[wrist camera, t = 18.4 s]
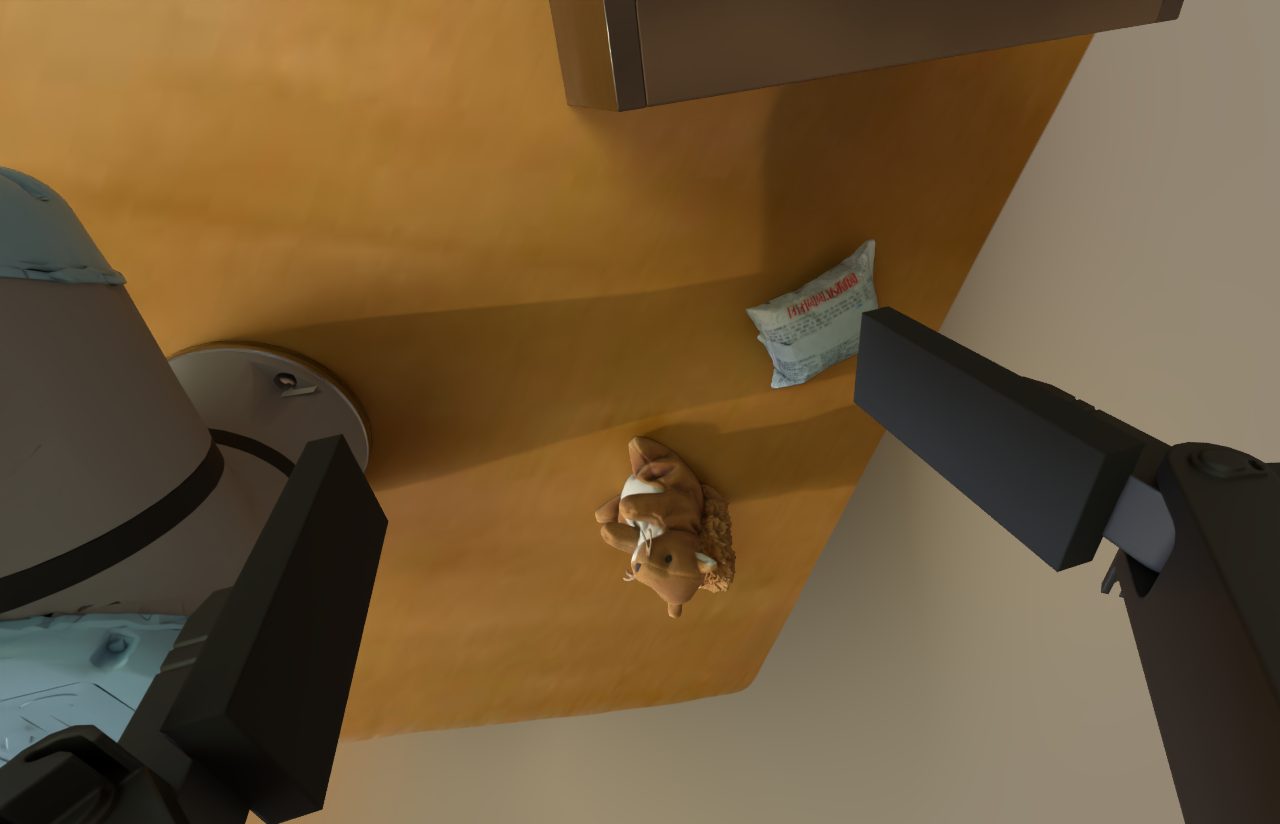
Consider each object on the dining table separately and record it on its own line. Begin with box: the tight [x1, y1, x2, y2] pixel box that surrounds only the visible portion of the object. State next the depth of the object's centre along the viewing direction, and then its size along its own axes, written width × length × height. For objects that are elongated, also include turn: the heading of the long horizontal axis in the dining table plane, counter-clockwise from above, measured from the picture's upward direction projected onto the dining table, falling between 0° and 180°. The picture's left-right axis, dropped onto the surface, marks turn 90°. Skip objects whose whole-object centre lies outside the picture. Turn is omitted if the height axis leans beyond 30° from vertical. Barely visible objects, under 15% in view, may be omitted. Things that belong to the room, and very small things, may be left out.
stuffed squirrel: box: [595, 436, 736, 618], centre depth 48 cm, size 10×14×13 cm
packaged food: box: [745, 239, 879, 389], centre depth 45 cm, size 9×12×5 cm
